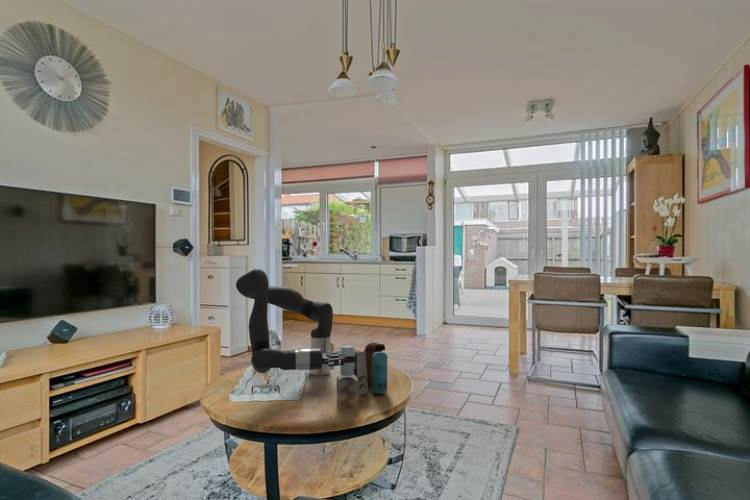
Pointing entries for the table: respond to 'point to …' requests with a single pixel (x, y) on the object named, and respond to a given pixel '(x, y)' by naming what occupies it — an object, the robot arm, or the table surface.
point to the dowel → (347, 367)
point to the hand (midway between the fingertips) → (354, 357)
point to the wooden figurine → (370, 359)
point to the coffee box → (361, 371)
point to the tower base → (347, 401)
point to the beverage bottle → (379, 370)
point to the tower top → (347, 385)
